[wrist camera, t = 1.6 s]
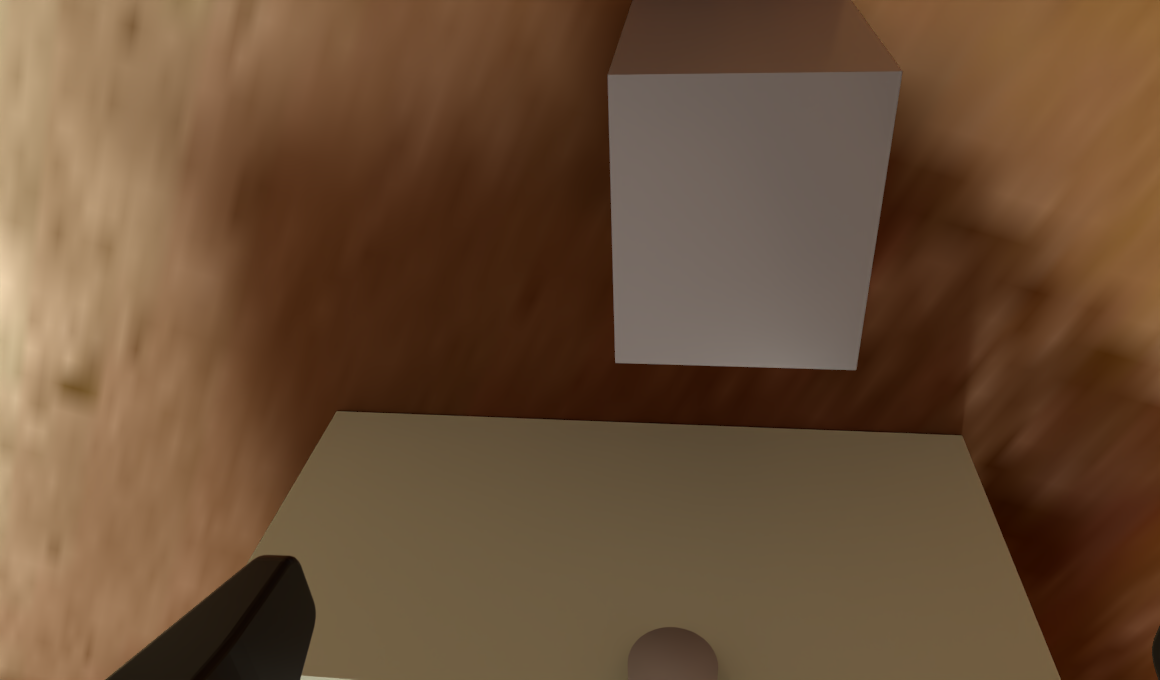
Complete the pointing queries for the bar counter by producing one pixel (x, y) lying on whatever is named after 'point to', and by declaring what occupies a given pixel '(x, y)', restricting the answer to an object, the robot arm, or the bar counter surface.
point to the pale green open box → (650, 554)
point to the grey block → (746, 180)
